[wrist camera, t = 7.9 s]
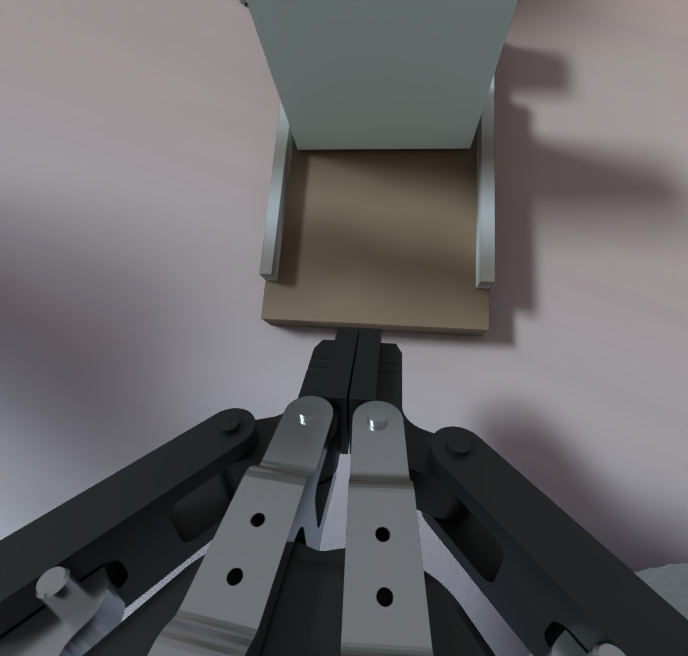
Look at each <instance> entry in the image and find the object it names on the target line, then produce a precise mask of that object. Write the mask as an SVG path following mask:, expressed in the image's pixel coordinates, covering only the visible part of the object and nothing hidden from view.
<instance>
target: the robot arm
mask: <svg viewBox="0 0 688 656" xmlns="http://www.w3.org/2000/svg"><path fill="white" fill-rule="evenodd" d="M349 442H350V454H351V467H350V478H349V488H348V509H347V530H346V548H343V549H336V550H329V551H320V542H321V536H322V531H323V527H324V523H325V519H326V515H327V511H328V507H329V503H330V499H331V495H332V492H333V488H334V484H335V480H336V469H337V466H338V461H339V455H340V454H348V449H349ZM417 510H419V511H421V513H422V516H423V518H424V519H425V521H426V522H427V524H428V525H429V526H430V527H431V529H432V530H433V531H434V532H435V534H436V535H437V536H438V537H439V539H440V540H441V541H442V542H443V544H444V545H445V546H446V547H447V549H448V550H449V551H450V552H451V554H452V555H453V556H454V557H455V559H456V560H457V561H458V562H459V564H460V565H461V566H462V567H463V569H464V570H465V571H466V572H467V574H468V575H469V576H470V577H471V579H472V580H473V581H474V582H475V584H476V585H477V586H478V587H479V589H480V590H481V591H482V592H483V594H484V595H485V596H486V597H487V599H488V600H489V601H490V602H491V604H492V605H493V606H494V607H495V609H496V610H497V611H498V612H499V614H500V615H501V616H502V617H503V619H504V620H505V621H506V622H507V624H508V625H509V626H510V627H511V629H512V630H513V631H514V632H515V634H516V635H517V636H518V637H519V639H520V640H521V641H522V642H523V644H524V645H525V646H526V647H527V649H528V650H529V651H530V652H531V654H532V655H533V656H688V620H687V619H686V618H685V617H684V616H683V615H682V614H681V613H679V612H678V611H677V610H676V609H675V608H674V607H673V606H671V605H670V604H669V603H668V602H667V601H666V600H665V599H663V598H662V597H661V596H660V595H659V594H658V593H657V592H655V591H654V590H653V589H652V588H651V587H650V586H649V585H647V584H646V583H645V582H644V581H643V580H642V579H641V578H639V577H638V576H637V575H636V574H635V573H634V572H633V571H631V570H630V569H629V568H628V567H627V566H626V565H625V564H623V563H622V562H621V561H620V560H619V559H618V558H617V557H615V556H614V555H613V554H612V553H611V552H610V551H609V550H607V549H606V548H605V547H604V546H603V545H602V544H601V543H599V542H598V541H597V540H596V539H595V538H594V537H593V536H591V535H590V534H589V533H588V532H587V531H586V530H585V529H583V528H582V527H581V526H580V525H579V524H578V523H577V522H575V521H574V520H573V519H572V518H571V517H570V516H569V515H567V514H566V513H565V512H564V511H563V510H562V509H561V508H559V507H558V506H557V505H556V504H555V503H554V502H553V501H551V500H550V499H549V498H548V497H547V496H546V495H545V494H543V493H542V492H541V491H540V490H539V489H538V488H537V487H535V486H534V485H533V484H532V483H531V482H530V481H529V480H527V479H526V478H525V477H524V476H523V475H522V474H521V473H519V472H518V471H517V470H516V469H515V468H514V467H513V466H511V465H510V464H509V463H508V462H507V461H506V460H505V459H503V458H502V457H501V456H500V455H499V454H498V453H497V452H495V451H494V450H493V449H492V448H491V447H490V446H489V445H487V444H486V443H485V442H484V441H483V440H482V439H481V438H479V437H478V436H477V435H476V434H474V433H473V432H471V431H469V430H467V429H464V428H460V427H445V428H442V429H440V430H438V431H437V432H435V433H431V432H428V431H426V430H423V429H420V428H418V427H417V426H415V425H413V424H412V423H411V422H410V421H409V420H408V419H407V418H406V417H405V415H404V413H403V410H402V353H401V351H400V349H399V348H398V346H397V345H396V344H391V343H381V329H379V328H361V329H359V328H358V327H338V330H337V334H336V338H335V340H322V341H321V342H320V343H319V344H318V345H317V346H316V347H315V348H314V350H313V354H312V357H311V360H310V363H309V366H308V369H307V372H306V375H305V378H304V381H303V384H302V387H301V390H300V394H299V397H298V399H296V400H294V401H293V402H291V403H290V404H289V405H288V406H287V408H286V409H285V411H284V413H283V414H281V415H278V416H275V417H270V418H265V419H259V420H255V418H254V416H253V415H252V414H251V413H250V412H249V411H247V410H244V409H239V408H232V409H227V410H224V411H221V412H219V413H217V414H215V415H214V416H212V417H210V418H208V419H207V420H205V421H203V422H202V423H200V424H198V425H197V426H195V427H193V428H191V429H190V430H188V431H186V432H185V433H183V434H181V435H179V436H178V437H176V438H174V439H173V440H171V441H169V442H168V443H166V444H164V445H162V446H161V447H159V448H157V449H156V450H154V451H152V452H150V453H149V454H147V455H145V456H144V457H142V458H140V459H139V460H137V461H135V462H133V463H132V464H130V465H128V466H127V467H125V468H123V469H121V470H120V471H118V472H116V473H115V474H113V475H111V476H110V477H108V478H106V479H104V480H103V481H101V482H99V483H98V484H96V485H94V486H92V487H91V488H89V489H87V490H86V491H84V492H82V493H81V494H79V495H77V496H75V497H74V498H72V499H70V500H69V501H67V502H65V503H63V504H62V505H60V506H58V507H57V508H55V509H53V510H51V511H50V512H48V513H46V514H45V515H43V516H41V517H40V518H38V519H36V520H34V521H33V522H31V523H29V524H28V525H26V526H24V527H22V528H21V529H19V530H17V531H16V532H14V533H12V534H11V535H9V536H7V537H5V538H4V539H2V540H0V656H495V654H494V653H493V651H492V650H491V648H490V647H489V646H488V644H487V643H486V641H485V640H484V638H483V637H482V635H481V634H480V633H479V631H478V630H477V628H476V627H475V625H474V624H473V622H472V621H471V620H470V618H469V617H468V615H467V614H466V612H465V611H464V610H463V608H462V607H461V605H460V604H459V603H458V601H457V600H456V599H455V597H454V596H453V595H452V594H451V593H450V592H449V591H448V589H447V588H445V587H444V586H443V585H442V584H441V583H440V582H439V581H438V580H437V579H435V578H434V577H432V576H431V575H430V574H428V573H427V572H425V571H423V562H422V553H421V545H420V536H419V527H418V518H417ZM212 539H213V540H212ZM211 540H212V542H211V544H210V547H209V549H208V551H207V553H206V554H205V555H203V556H202V557H200V558H199V559H197V560H196V561H194V562H193V563H191V564H190V565H189V566H187V567H186V568H185V569H184V570H183V571H181V572H180V573H179V574H178V575H177V576H176V577H174V578H173V579H172V580H171V581H170V582H168V583H167V584H166V585H165V586H164V587H163V588H161V589H160V590H159V591H158V592H157V593H155V594H154V595H153V596H152V597H151V598H150V599H148V600H147V601H146V602H145V603H144V604H143V605H141V606H140V607H139V608H138V609H137V610H135V611H134V612H133V613H132V614H131V615H130V616H128V617H127V618H126V619H125V620H124V621H122V622H121V620H122V618H123V615H124V611H125V608H127V607H128V606H129V605H130V604H132V603H133V602H134V601H135V600H137V599H138V598H139V597H140V596H142V595H143V594H144V593H145V592H147V591H148V590H149V589H151V588H152V587H153V586H154V585H156V584H157V583H158V582H159V581H161V580H162V579H163V578H164V577H166V576H167V575H168V574H169V573H171V572H172V571H173V570H174V569H176V568H177V567H178V566H180V565H181V564H182V563H183V562H185V561H186V560H187V559H188V558H190V557H191V556H192V555H193V554H195V553H196V552H197V551H198V550H200V549H201V548H202V547H203V546H205V545H206V544H207V543H209V542H210V541H211Z"/></svg>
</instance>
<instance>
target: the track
mask: <svg viewBox="0 0 688 656" xmlns="http://www.w3.org/2000/svg"><path fill="white" fill-rule="evenodd" d="M259 274H260V275H261V276H262V277H263V278H264V279H265V280H266V282H265V290H264V299H263V307H262V315H261V319H263V320H264V321H266V322H267V323H268V324H270V325H286V326H305V327H324V328H338V327H358V328H359V329H361V328H379V329H381V331H401V332H420V333H439V334H458V335H477V336H481V335H483V334H484V333H485V332H487V331H488V330H489V288H490V287H491V286H492V285H493V283H494V282H495V168H494V76H493V79H492V82H491V86H490V89H489V92H488V95H487V98H486V101H485V104H484V107H483V110H482V113H481V116H480V120H479V123H478V126H477V129H476V132H475V135H474V138H473V141H472V144H471V147H470V148H468V149H316V150H298V149H297V146H296V143H295V140H294V137H293V135H292V132H291V129H290V126H289V123H288V120H287V117H286V114H285V111H284V108H283V106H282V103H281V105H280V113H279V121H278V129H277V137H276V145H275V153H274V161H273V169H272V177H271V185H270V193H269V201H268V208H267V216H266V224H265V232H264V240H263V248H262V256H261V264H260V272H259Z"/></svg>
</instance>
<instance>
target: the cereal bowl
mask: <svg viewBox="0 0 688 656" xmlns="http://www.w3.org/2000/svg"><path fill="white" fill-rule="evenodd" d="M634 573H635V574H636V575H637V576H638V577H639V578H641V579H642V580H643V581H644V582H645V583H646V584H647V585H649V586H650V587H651V588H652V589H653V590H654V591H655V592H657V593H658V594H659V595H660V596H661V597H662V598H663V599H665V600H666V601H667V602H668V603H669V604H670V605H671V606H673V607H674V608H675V609H676V610H677V611H678V612H679V613H681V614H682V615H683V616H684V617H685V618H686V619H687V620H688V563H679V564H668V565H665V566H660V567H658V568H647V569H645V570H641V571H639V572H634ZM528 656H533V655H532V654H531V653H530V654H529V655H528Z"/></svg>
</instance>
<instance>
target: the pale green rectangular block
mask: <svg viewBox="0 0 688 656" xmlns="http://www.w3.org/2000/svg"><path fill="white" fill-rule="evenodd" d="M246 1H247V4H248V7H249V10H250V13H251V16H252V19H253V21H254V24H255V27H256V30H257V33H258V36H259V39H260V42H261V45H262V48H263V50H264V53H265V56H266V59H267V62H268V65H269V68H270V71H271V74H272V77H273V79H274V82H275V85H276V88H277V91H278V94H279V97H280V100H281V103H282V106H283V108H284V111H285V114H286V117H287V120H288V123H289V126H290V129H291V132H292V135H293V137H294V140H295V143H296V146H297V149H298V150H316V149H468V148H470V147H471V144H472V141H473V138H474V135H475V132H476V129H477V126H478V123H479V120H480V116H481V113H482V110H483V107H484V104H485V101H486V98H487V95H488V92H489V89H490V86H491V82H492V79H493V76H494V73H495V70H496V67H497V64H498V61H499V58H500V55H501V52H502V48H503V45H504V42H505V39H506V36H507V33H508V30H509V27H510V24H511V21H512V18H513V14H514V11H515V8H516V5H517V2H518V0H246Z"/></svg>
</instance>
